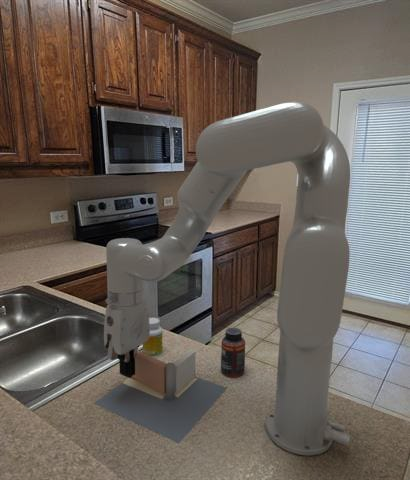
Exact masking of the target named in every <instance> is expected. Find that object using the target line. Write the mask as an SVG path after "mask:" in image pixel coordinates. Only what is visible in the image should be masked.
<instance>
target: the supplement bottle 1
mask: <svg viewBox="0 0 410 480" xmlns="http://www.w3.org/2000/svg"><path fill="white" fill-rule="evenodd" d="M160 323H161V320H160V318H157V317H149V326H150V336H149V338H148V340H147V341H145V342H144V343H142V352H143V353H145V354H147V355H149V356H151V357H154V358H156V357H159V356H160V355H162V354H163V328H162V327H161V326H160V325H161V324H160Z"/></svg>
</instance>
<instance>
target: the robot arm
mask: <svg viewBox="0 0 410 480" xmlns="http://www.w3.org/2000/svg"><path fill="white" fill-rule="evenodd" d="M195 156H196V159H197V162H196V164H194V166H193V168H192V169H191V171H190V172H189V174H188V175H187V176H186V178H185V180H183V183H182V184H181V185H180V188H179V189H178V190H177V194H176V196H177V197H176V198H177V202H178V211H177V213H176V216H175V217H174V220H173V221H172V223H171V224H170V226H169V227H168V229H167V230H166V232H165V233H164V235H162V237H161V238H159V239H156V240H154V241H151V242H149V243H148V242H147V243H145V244H143V243H142V241H140V240H139V239H136V238H132V237H131V238H130V237H126V238H125V237H121V238H115V239H111V240H110V241H108V243H107V244H106V250H105V251H106V255H105V256H106V282H107V283H106V284H107V298H105V304H107V305H106V308H105V314H104V324H103V342H104V343H103V344H104V349H105V350H106V351H107V355H106V358H107V359H108V360H111V361H115V360H119V374H120V375H122V376H124V377H126V378H127V379H128V378H130V377H132V376H133V375H135V357H136V356H137V351H138V350H139V347H140V345H143V343H144V342H145V341H147V340H148V338H149V336H150V326H149V318H150V316H149V308H148V304H147V300H146V298H145V297H144V296H145V295H144V292H145V291H144V290H145V289H144V288H145V285H144V284H145V283H144V281H145V282H150V283H155V282H159V281H162V280H164V279H165V278H166V277H168V276H169V275H171V274H173V272H175V271H177V270H178V269H180V268H181V267H182V266H183V265H184V264H185V263H186V262H187V260H189V258H190V256H191V255H192V254H193V252H194V251H195V249H196V248H197V247H198V246H199V243H201V241H202V239H203V238H204V236H205V234H206V232H208V229H209V227H210V226H211V225H212V224H213V220H214V219H215V217H216V216H217V214H218V213H219V211H220V210H221V208H222V207H223V206H224V204H225V202H226V201H227V200H228V199H229V197H230V196H231V194H232V193H233V192H234V190H235V189H236V187H237V186H238V184H239V183H240V182H241V180H242V179H243V178H244V177H245V175H246V174H247V172H248V171H250V170H254V169H260V168H265V167H269V166H273V165H274V166H275V165H278V164H282V163H288V162H291V163H292V164H294V166H295V168H296V171H297V177H298V178H297V187H296V196H295V197H296V198H295V199H296V200H295V201H296V202H295V208H294V216H293V223H292V228H291V230H290V232H289V234H288V237H287V239H286V241H285V245H284V250H283V257H282V266H281V275H280V283H279V290H278V291H279V293H278V302H277V308H276V309H277V311H276V321H277V325H278V328H279V330H280V331H279V343H278V355H277V356H278V358H277V370H276V371H277V375H276V389H275V402H274V403H275V404H274V409H272V411H270V412H269V413H268V414H267V417H266V421H265V429H266V433H267V434H268V437H269V438H270V439H271V440H272V442H274V444H276V445H277V446H278V447H280V448H281V449H284V450H286V451H287V452H289V453H292V454H295V455H300V456H317V455H320V454H323V453H324V452H326V451H327V450H329V449H330V447H331V446H332V444H333V441H334V442H336V443H338V444H341V445H342V446H345V447H349V446H350V442H351V441H350V440H351V435H350V434H349V433H346V432H345V431H346V425H344V424H341V423H337V422H334V421H333V420H332V419H330V416H331V415H330V414H331V411H329V410H328V409H327V408H328V401H329V399H328V398H329V389H330V379H331V367H332V359H333V350H334V349H333V346H334V338H335V337H336V335H337V333H338V331H339V328H340V324H341V319H342V313H343V308H344V307H343V306H344V301H345V294H346V288H347V282H348V275H349V270H350V269H349V268H350V267H349V266H350V254H351V253H350V252H351V251H350V245H349V241H348V239H347V236H346V221H347V215H348V214H347V213H348V207H349V194H350V185H351V184H350V183H351V166H350V160H349V155H348V153H347V151H346V148H345V146H344V144H343V143H342V141H341V140H340V139H339V137H338V136H337V134H335V133H334V131H332V129H330V128H329V127H327V126H326V125H325V124H324V121H323V118H322V116H321V114H320V113H319V111H318V110H317V109H316V108H315V107H314V106H312V105H311V104H309V103H307V102H303V101H297V100H296V101H294V100H293V101H292V100H291V101H285V102H281V103H278V104H274V105H271V106H266V107H262V108H261V109H257V110H253V111H250V112H246V113H242V114H239V115H235V116H231V117H228V118H227V117H226V118H223V119H221V120H218V121H214V122H213V123H211V124H209V125H208V126H206V127H205V128H204V129H203V130H202V131H201V133H200V135H199V136H198V138H197V141H196V144H195Z"/></svg>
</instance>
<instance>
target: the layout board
mask: <svg viewBox="0 0 410 480" xmlns="http://www.w3.org/2000/svg"><path fill="white" fill-rule="evenodd" d="M196 353H197V352H196V350H192V349H189V350H187V351H186V352H185V353H184V354H183V355H181V356H180V357H179V358H177V359H176V360H175V361H172V362H166V393H165V394H162V393H160V392H159V391H157V390H155V389H153V388H151V387H149V386H148V385H146V384H144V383H142V382H140V381H138V380H137V379H135V378H133V377H130V378H128V377H127V378H126V379H125V380H124V381H122V382H121V383H120V384H118V385H117V386H115V387H114V388H113V389H112V390H110V391H109V392H107V393H105V395H103V396H101V397H100V398H99V399H97V400H96V401H94V402H93V404H94V405H97V406H99V407H100V408H102V409H104V410H108V412H109V411H110V412H111V413H114V414H115V415H118V416H120V417H123V419H126V420H128V421H131V422H133V423H135V424H137V425H139V426H141V427H143V428H145V429H147V430H150V431H151V432H154V433H156V434H158V435H160V436H162V437H165V438H167V439H168V440H171V441H174V442H175V443H178V444H180V443H181V442H182V440H183V439H184V438H185V437H186V436H187V435H188V433H189V432H190V431H191V430H192V429H193V428H194V426H195V425H197V423H199V421H200V420H201V419H202V417H203V416H205V414H206V413H207V412H208V411H209V410H210V408H212V406H213V405H214V404H215V403H216V402H217V401H218V400H219V398H220V397H221V396H222V395H223V393H225V391H227V389H228V387H226V386H223V385H220V384H217V383H215V382H212V381H209V380H206V379H203V378H201V377H197V376H196V361H197V360H196V359H197V357H196Z"/></svg>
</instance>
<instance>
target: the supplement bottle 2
mask: <svg viewBox="0 0 410 480" xmlns="http://www.w3.org/2000/svg"><path fill="white" fill-rule="evenodd" d="M220 348H221V349H220V350H221V351H220V355H221V356H220V372H221V374H222V375H223V376H225V377H227V378H231V379H237V378H240V377H242V376H243V375H244V374H245V369H246V368H245V365H246V363H245V362H246V341H245V339H244V338H243V335H242V329H241V328H239V327H238V328H237V327H228V328H226V330H225V335H224V337H222V339H221V347H220Z"/></svg>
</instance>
